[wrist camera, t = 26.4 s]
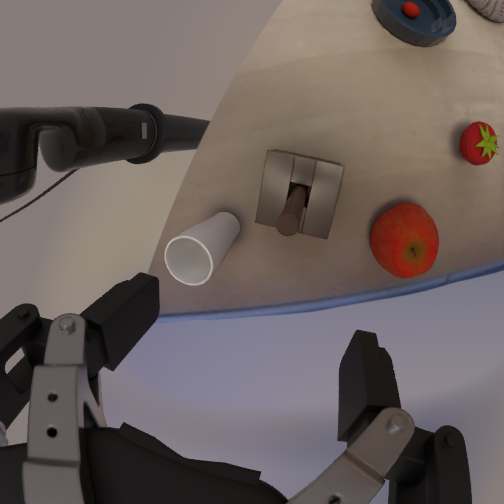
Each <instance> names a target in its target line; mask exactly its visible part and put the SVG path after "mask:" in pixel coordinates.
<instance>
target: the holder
mask: <svg viewBox="0 0 504 504" xmlns="http://www.w3.org/2000/svg"><path fill="white" fill-rule="evenodd" d="M343 172H344V166H343V165H341V164H340V163H337V162H333V161H329V160H324V159H320V158H316V157H311V156H307V155H302V154H297V153H292V152H287V151H282V150H277V149H273V150H267V155H266V161H265V167H264V173H263V179H262V185H261V191H260V197H259V203H258V209H257V214H256V220H255V223H259V224H264V225H268V226H272V227H276V221H277V219H278V217H279V215H280V213H281V211H282V210H283V208H284V206H285V204H286V202H287V200H288V198H289V196H290V195H291V191H292V186H293V183H296V184H301V185H305V186H309V187H311V189H310V194H309V198H307V197H306V198H305V202H304V207H303V212H302V216H301V220H300V225H299V229H298V231H297V232H299V233H302V234H307V235H311V236H315V237H319V238H323V239H327V238H328V234H329V230H330V226H331V223H332V219H333V215H334V211H335V207H336V202H337V198H338V194H339V190H340V185H341V181H342V176H343Z"/></svg>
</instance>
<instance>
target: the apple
mask: <svg viewBox="0 0 504 504" xmlns="http://www.w3.org/2000/svg"><path fill="white" fill-rule="evenodd" d="M370 246H371V249H372V252H373V255H374V257H375V258H376V260H377V262H378V263H379V264H380V265H381V266H382V267H383V268H384V269H385V270H387V271H388V272H390V273H391V274H393V275H394V276H397V277H401V278H413V277H415V276H418V275H420V274H423V273H425V272H426V271H427V270H429V269H430V268H431V267H432V265H433V263H434V261H435V259H436V256H437V253H438V246H439V236H438V231H437V228H436V225H435V223H434V221H433V219H432V218H431V217H430V216H429V214H428V213H427V212H426V211H425V210H424V209H423V208H422V207H420V206H419V205H415V204H412V203H401V204H399V205H397V206H395V207H393V208H391V209H389V210H388V211H386V212H385V213H383V214H382V215H381V216H380V217H379V218H378V219H377V220H376V221H375V223H374V225H373V228H372V230H371V233H370Z"/></svg>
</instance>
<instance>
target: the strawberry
mask: <svg viewBox="0 0 504 504" xmlns="http://www.w3.org/2000/svg"><path fill="white" fill-rule="evenodd" d="M497 137H498V135H497V136H496V135H495V132H494V130H493V129H492V127H491V126H490V125H488V124H486V123H484V122H474V123H472V124H471V125H469V126H468V127H467V128H466V129H465V130H464V131H463V132H462V135H461V137H460V151H461V154H462V155H463V157H464V158H465V159H466V160H467V161H468V162H469V163H471V164H473V165H483V164H486V163H488V162H489V161H490V160H491V159H492V157H493V156H494V154H495V153H496V154H497V155H498V153H497V151H496V148H499V147H498V146H497Z"/></svg>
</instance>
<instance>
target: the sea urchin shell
mask: <svg viewBox="0 0 504 504" xmlns="http://www.w3.org/2000/svg"><path fill="white" fill-rule="evenodd" d="M468 1H469V2H470V4H471V5H473V7H474V8H476V9H477V10H478V11H479V12H480V13H482V14H483V15H484V16H487V17H488V18H489V19H491V20H494V21H497V22H504V0H468Z"/></svg>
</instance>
